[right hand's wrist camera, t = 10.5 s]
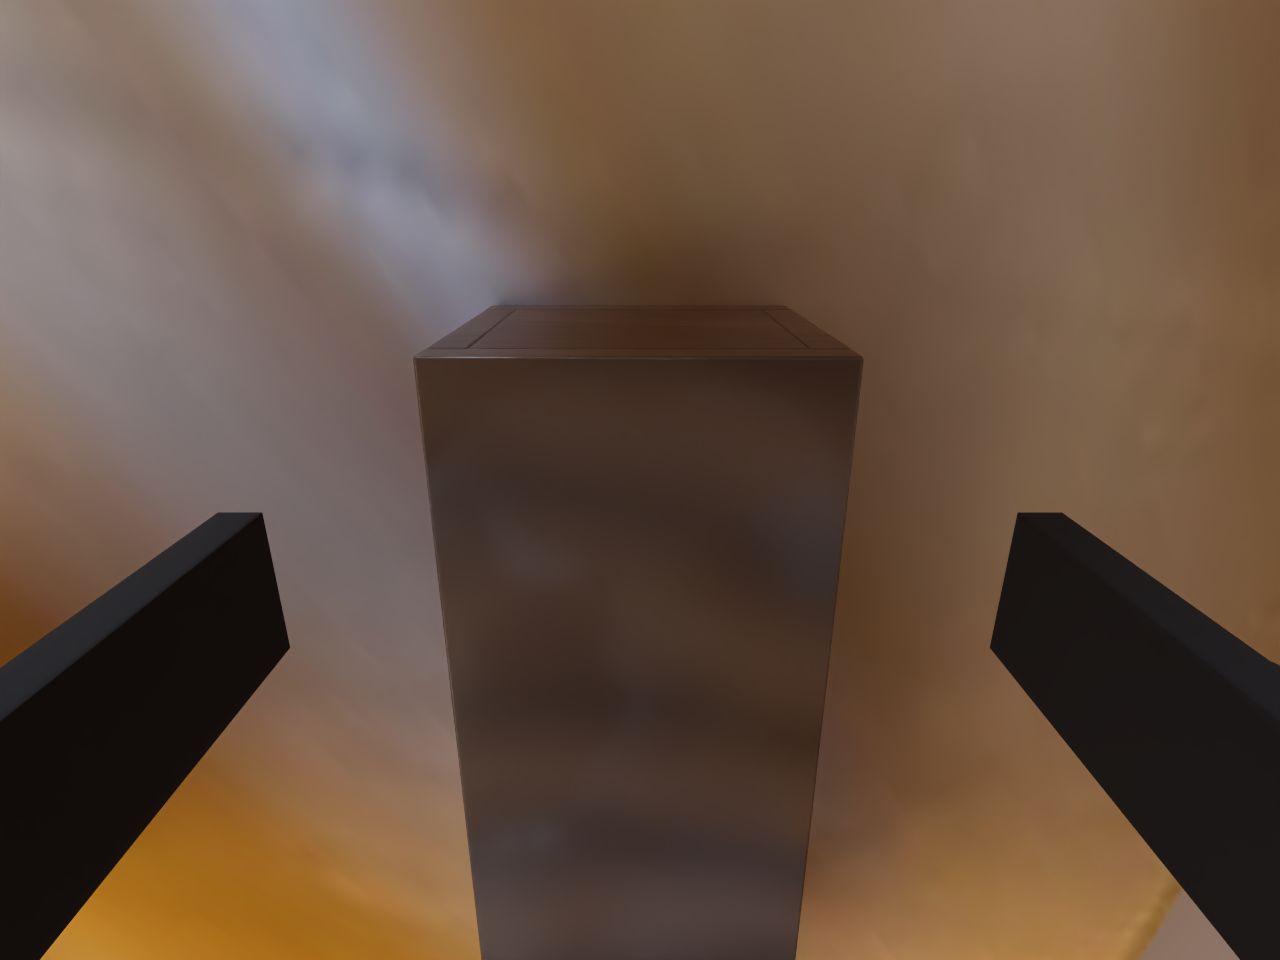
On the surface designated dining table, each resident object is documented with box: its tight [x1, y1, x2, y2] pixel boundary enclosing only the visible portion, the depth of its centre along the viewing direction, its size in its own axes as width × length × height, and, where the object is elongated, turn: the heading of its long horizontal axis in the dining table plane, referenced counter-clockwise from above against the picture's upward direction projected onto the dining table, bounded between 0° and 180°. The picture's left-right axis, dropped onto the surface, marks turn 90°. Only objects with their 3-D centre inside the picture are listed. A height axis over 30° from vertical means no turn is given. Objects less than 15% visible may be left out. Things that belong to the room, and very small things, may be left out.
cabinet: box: [413, 306, 863, 960], centre depth 24 cm, size 20×10×9 cm, turn 0°
